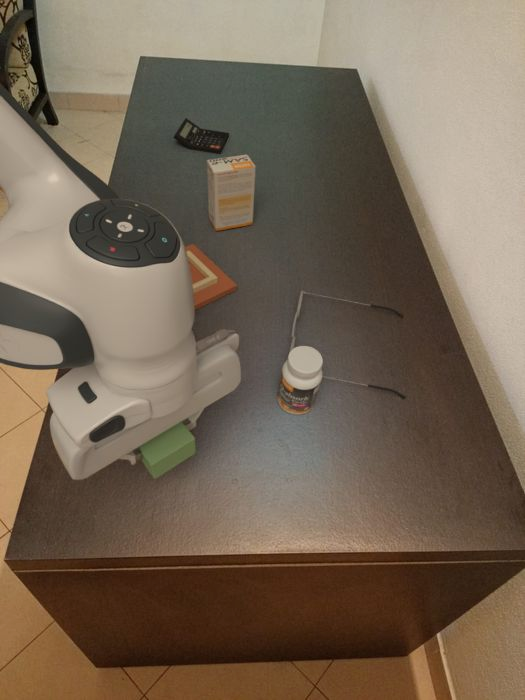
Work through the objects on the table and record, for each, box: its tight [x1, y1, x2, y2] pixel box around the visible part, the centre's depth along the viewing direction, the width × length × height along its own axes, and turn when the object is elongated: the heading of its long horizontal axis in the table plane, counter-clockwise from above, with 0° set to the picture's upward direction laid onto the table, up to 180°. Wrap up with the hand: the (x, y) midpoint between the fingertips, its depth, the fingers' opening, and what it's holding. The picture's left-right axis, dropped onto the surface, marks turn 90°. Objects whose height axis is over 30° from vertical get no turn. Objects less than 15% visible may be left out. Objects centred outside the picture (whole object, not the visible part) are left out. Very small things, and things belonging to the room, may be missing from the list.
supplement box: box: [206, 154, 257, 232], centre depth 92 cm, size 8×5×13 cm, turn 111°
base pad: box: [185, 243, 238, 311], centre depth 83 cm, size 14×14×2 cm
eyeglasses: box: [289, 290, 407, 400], centre depth 76 cm, size 18×19×4 cm
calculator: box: [172, 117, 230, 155], centre depth 116 cm, size 9×12×3 cm
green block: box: [138, 421, 197, 480], centre depth 54 cm, size 6×6×4 cm
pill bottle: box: [276, 345, 324, 416], centre depth 66 cm, size 6×6×10 cm
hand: (161, 441), depth 54 cm, fingers closed on green block, 5 cm apart
